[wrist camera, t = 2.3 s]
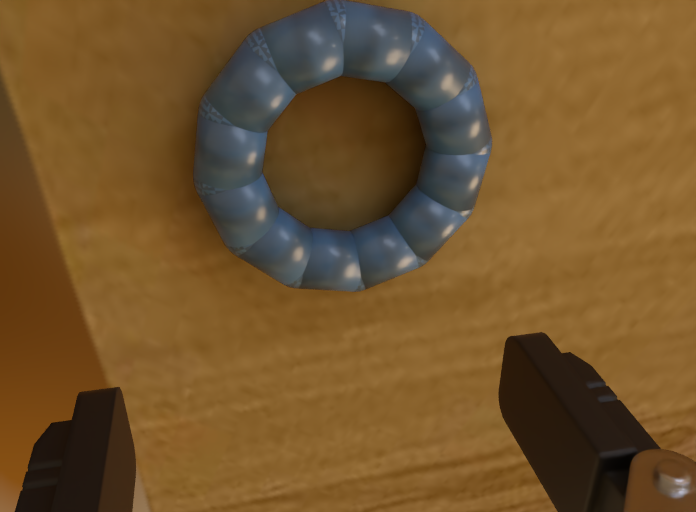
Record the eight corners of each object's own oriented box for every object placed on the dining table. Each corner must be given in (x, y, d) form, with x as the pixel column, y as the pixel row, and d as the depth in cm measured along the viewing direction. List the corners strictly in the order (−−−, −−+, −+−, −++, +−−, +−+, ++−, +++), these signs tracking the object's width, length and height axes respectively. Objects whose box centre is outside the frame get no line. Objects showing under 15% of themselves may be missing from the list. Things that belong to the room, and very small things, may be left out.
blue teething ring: (136, 177, 24) (130, 204, 22) (321, -74, 21) (334, -70, 19) (354, 312, 29) (366, 344, 27) (528, 121, 26) (556, 141, 24)
